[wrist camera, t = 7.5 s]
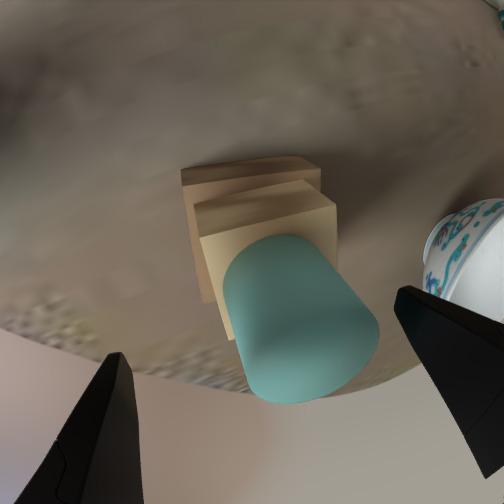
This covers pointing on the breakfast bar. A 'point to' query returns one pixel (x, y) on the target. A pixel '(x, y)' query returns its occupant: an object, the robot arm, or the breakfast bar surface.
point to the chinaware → (468, 258)
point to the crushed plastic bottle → (503, 3)
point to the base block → (232, 182)
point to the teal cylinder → (295, 320)
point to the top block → (263, 226)
